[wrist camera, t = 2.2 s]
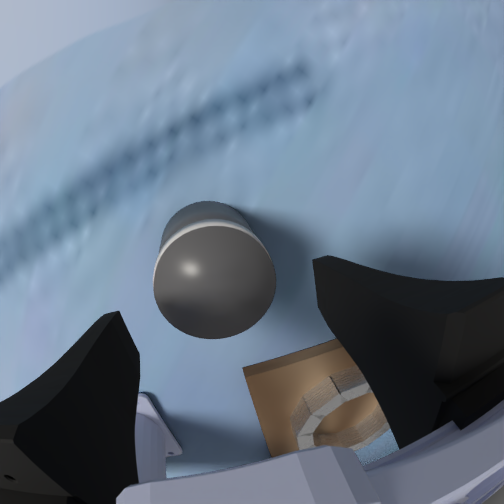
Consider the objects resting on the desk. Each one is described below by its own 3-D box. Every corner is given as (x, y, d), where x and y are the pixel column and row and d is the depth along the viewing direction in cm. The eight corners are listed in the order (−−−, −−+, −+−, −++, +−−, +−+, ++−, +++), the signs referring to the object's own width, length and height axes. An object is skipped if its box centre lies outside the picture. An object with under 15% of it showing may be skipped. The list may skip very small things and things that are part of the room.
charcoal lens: (175, 297, 18) (174, 351, 14) (148, 214, 16) (134, 247, 12) (261, 275, 19) (285, 322, 14) (243, 189, 17) (265, 212, 12)
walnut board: (273, 462, 26) (276, 470, 26) (242, 367, 21) (245, 377, 20) (401, 413, 28) (406, 420, 27) (418, 307, 22) (425, 313, 22)
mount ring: (296, 453, 25) (303, 469, 23) (283, 390, 21) (291, 410, 19) (389, 417, 26) (398, 431, 24) (399, 346, 22) (412, 362, 20)
